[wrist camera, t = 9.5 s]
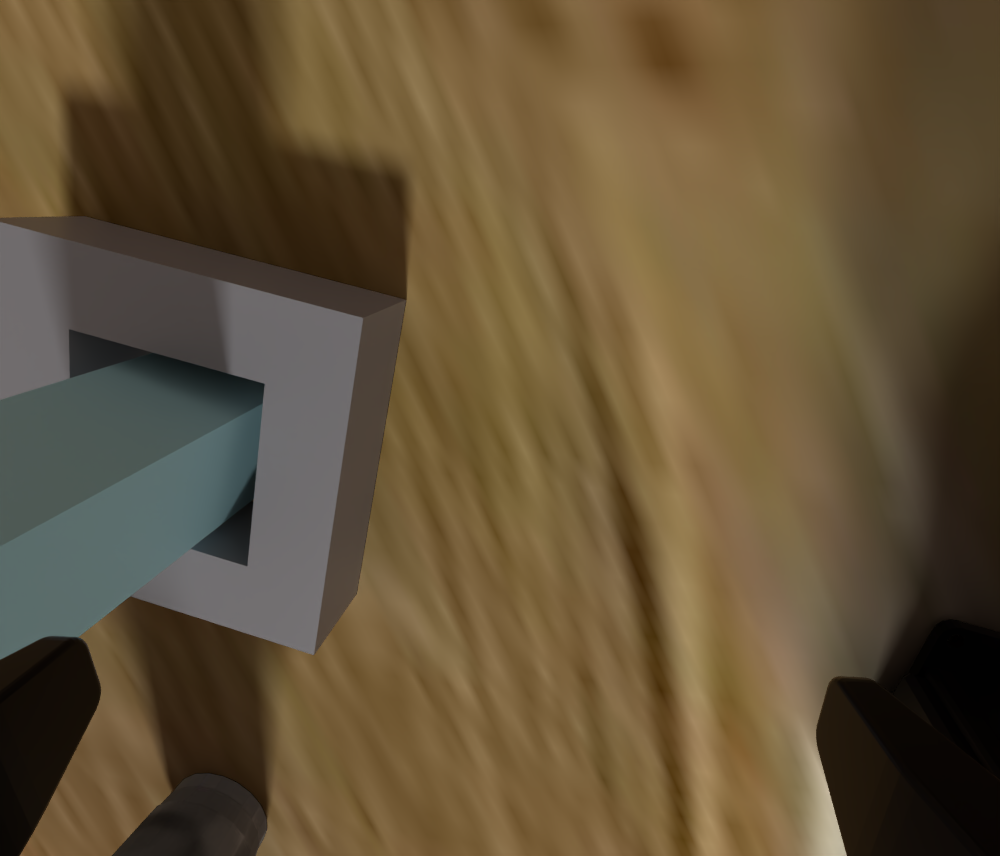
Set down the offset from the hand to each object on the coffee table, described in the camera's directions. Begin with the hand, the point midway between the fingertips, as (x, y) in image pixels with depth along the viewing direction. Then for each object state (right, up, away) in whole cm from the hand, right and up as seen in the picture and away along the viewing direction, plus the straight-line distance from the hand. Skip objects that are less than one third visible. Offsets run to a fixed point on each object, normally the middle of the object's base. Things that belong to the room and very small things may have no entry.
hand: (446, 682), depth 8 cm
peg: (-9, +3, +15) cm, 17 cm away
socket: (-9, +3, +15) cm, 17 cm away
